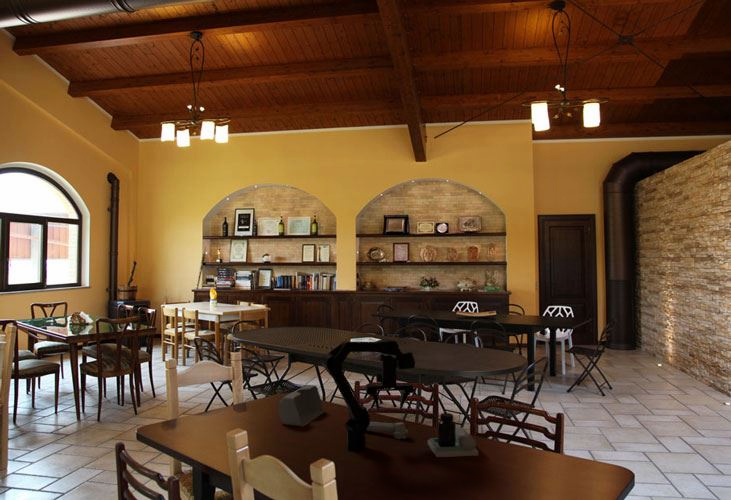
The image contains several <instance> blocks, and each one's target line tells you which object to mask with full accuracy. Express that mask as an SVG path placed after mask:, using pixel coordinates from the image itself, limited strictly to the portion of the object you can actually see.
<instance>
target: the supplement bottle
mask: <svg viewBox="0 0 731 500" xmlns="http://www.w3.org/2000/svg"><path fill="white" fill-rule="evenodd" d="M439 418H440V420H439V421H438V423H437V438H438V445H439V446H440V447H455V445H456V428H457V427H456V425H457V424H456V422H455V421H454V415H453V414H452V413H450V412H442V413H440V417H439Z"/></svg>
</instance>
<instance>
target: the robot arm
mask: <svg viewBox="0 0 731 500" xmlns="http://www.w3.org/2000/svg"><path fill="white" fill-rule="evenodd" d="M350 353H378V354H379V353H380V355H379V356H378V357H377V358H376V360H378V361H380V362H382V364H381V366H382V368H381V371H382V373H378V374H377V373H376V376H375V377H376V378H375V379H376V380H375V381H376V383H380V385H378V386H377V384H376V383H367V384H366V385H365V392H366V395H369V397H372V398H373V400H374V403H375V407H376V410H377V411H378V412H379V410H380V409H379V408H380V407H379V406H380V405H379V396H378V395H379V394H378V393H377V392H392V391H393V392H394V391H396V392H397V391H400V401H399V402H400V403H399V410H400V411H402V410H403V407H404V405H405V402H406V399H407V398H408V397H409V396H411V394H414V392H415V391H414V390H415V389H414V386H413V384H411V382H403V383H401V385H397V378H398V377H397V372H398V371H397V369H398V370H399V371H404V370H413V369H414V368H415V366H416V361H415V357H414V356H413V352H411V351H408V352H402V351H401V349H400V347H399V344H398V342H397V341H395V340H392V339H390V338H383V339H379V340H375V341H347V340H343V341H341V342H340V344H339V345H337V346H336V347H334V348H333V349H332V350H330V351H329V352H327V353H326V354H324V355H323V356H322V358H321V361H320V363H321V365H322V367H323V368H324V369H325V371H326V373H328V375H330V376H331V378H332V380H333V382H334V383H335V385H336V388H337V389H338V391H339V393H340V395H341V397H342V399H343V400H344V403H345V405H346V407H347V408H348V409H347V410H348V417H349V419H348V420H347V421H346V423H345V424H344V426H345V429H346V433H347V434H346V436H347V437H346V438H347V439H346V448H347V451H351V452H352V451H365V450H366V449H365V447H366V432H367V431H366V430H367V427H368V426H369V424H370V422H371V418H370V417H371V415H370V414H369V412H368V410H367V407H365V406H364V405H362V403H358V400H357V399H356V397H355V396H354V393H353V391H352V389H351V387H350V385H349V383H348V381H347V379H346V377H345V375H344V371H343V370H344V369H343V364H342V363H344V361H346V359H347V357H348V355H349V354H350ZM384 354H385V355H384Z"/></svg>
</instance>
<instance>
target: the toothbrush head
mask: <svg viewBox="0 0 731 500" xmlns="http://www.w3.org/2000/svg"><path fill="white" fill-rule="evenodd" d="M367 431H368V432H369V431H370V432H392V433H393V436H394V439H397V440H401V439H403V440H404V439H408V434H409V433H408V432H409V430H408V429H407V428H406V424H405V423H404V422H395V423H389V422H380V421H370V424H369V426H368V427H367V430H366V432H367Z"/></svg>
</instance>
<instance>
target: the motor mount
mask: <svg viewBox="0 0 731 500" xmlns="http://www.w3.org/2000/svg"><path fill="white" fill-rule="evenodd" d="M427 445H428V446H429V448H430V450H431V451H432V452H433V454H434V455H435V457H436V458H446V457H447V458H448V457H450V458H451V457H469V456H470V457H472V456H479V451H478V449H477V441H476V439H475V438H474V437H473V436H472V435H471V434H470V433H469V432H468V431H467V430H466V429H465V428H464V427H462V426H458V427H456V445H455V447H440V446H439V445H438V437H431V438H429V439H428V440H427Z"/></svg>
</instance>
